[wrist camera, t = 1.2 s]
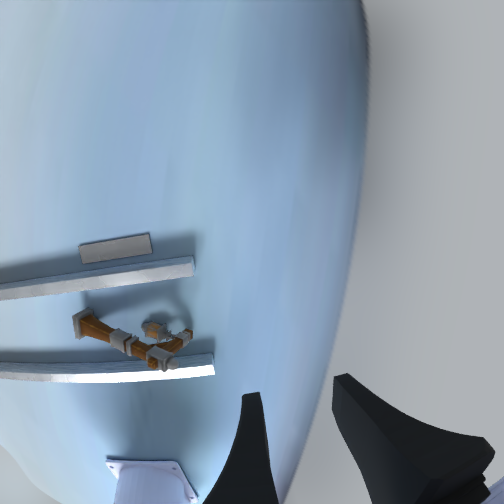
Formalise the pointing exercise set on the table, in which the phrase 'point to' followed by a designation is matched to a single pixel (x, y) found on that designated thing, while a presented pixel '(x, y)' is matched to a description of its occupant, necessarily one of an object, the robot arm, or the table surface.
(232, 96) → the table surface
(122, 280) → the guide rail
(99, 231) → the table surface
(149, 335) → the wooden post with brackets
